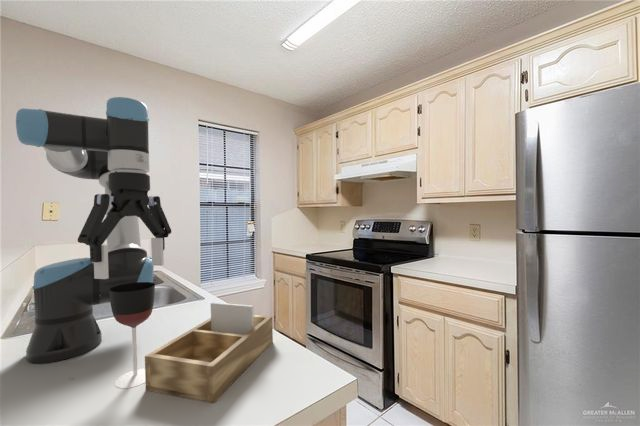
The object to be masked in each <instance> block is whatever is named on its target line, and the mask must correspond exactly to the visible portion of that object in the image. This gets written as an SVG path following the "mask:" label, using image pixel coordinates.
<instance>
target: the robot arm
mask: <svg viewBox="0 0 640 426" xmlns="http://www.w3.org/2000/svg"><path fill="white" fill-rule="evenodd" d="M105 109H106V111H105V115H106V118H101V117H93V116H84V115H78V114H71V113H63V112H59V111H57V112H56V111H51V110H45V109H41V108H39V109H34V108H19V110H17V111H16V115H15V128H16V134H17V135H16V136H17V138H18V141H19V142H20V143H21V144H23V145H25V146H31V147H33V146H34V147H37V148H43V150H44V151H45V157H46V160H47V162H48V163H49V165H50V166H51V167H52V168H54V169H55V170H56V171H58V172H60V173H62V174H65V175H67V176H71V177H75V178H77V179H78V178H79V179H82V180H98V183H99V185H100V186H101V187H102V188H104V193H97V194H95V195H94V198H93V206H92V208H91V210H90V212H89V214H88V216H87V219H86V221H85V222H84V225H83V227H82V229H81V230H80V233H79V235H78V237H77V242H78V243H80V244H85V245H86V246H88V247H89V257H82V258H81V257H80V258H73V259H68V260H63V261H58V262H55V263H51V264H48V265H47V264H46V265H44V266H42V267H39V268H37V270H36V271H35V272H34V275H33V286H32V290H33V297H34V302H33V303H34V328H33V331H32V333H31V336H30V339H29V342H28V345H27V347H26V350H25V353H26V354H25V355H26V361H27V362H29V363H33V364H42V363H43V364H45V363H46V364H47V363H53V362H58V361H64V360H66V359H71V358H73V357H77V356H80V355H83V354H85V353H87V352H89V351H92V350H93V349H94V348H97V347H98V346H99V345H100V344H101V343H102V341H103V340H102V337H103V336H102V331H101V329H100V326H99V325H98V324H99V323H98V322H97V320H96V318H95V315H94V306H96V305H102V304H108V303H110V294H109V289H110V288H112V287H114V286H118V285H122V284H127V283H136V282H151V283H153V279H154V269H155V266H164V251H165V244H166V243H165V238H169V235H170V234H172V229H171V226H170V224H169V222H168V219H167V217H166V214H165V212H164V210H163V207H162V203H161V198H160V196H158V195H156V196H154V195H151V196H149V195H148V192H149V191H151V177H150V175H149V174H148V173H149V172H150V150H149V143H150V142H149V122H150V118H149V113H148V112H149V111H148V107H147V105H146V104H145V103H143V101H140V100H138V99H134V98H130V97H123V96H115V97H111V98H108V100H106V108H105ZM139 219H140V220H141V221H142V223H143V224H144V225H145V226H146V228H147V229H148V231H150V233H151V234H152V236H153V237H151V238H150V241H151V242H150V243H151V244H150V245H151V248H150V249H151V256H149V255H148V252H147V250H145V249H144V248H143V247H141V236H140V235H141V234H140V225H139V223H140V222H139ZM105 241H106V244H104V243H105Z"/></svg>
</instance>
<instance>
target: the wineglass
mask: <svg viewBox="0 0 640 426" xmlns="http://www.w3.org/2000/svg"><path fill="white" fill-rule="evenodd" d="M155 290H156V284H155V283H154V282H152V283H151V282H136V283H127V284H122V285H118V286H114V287H112V288H110V289H109V294H110V302H109V303H110V307H111V312H112V315H113V318H114V320H115V321H116V322H118V323H119V324H121V325H123V326H127V327H129V328H131V336H132V337H131V343H132V347H131V348H132V370H130V371H127V372H126V373H124V374H122V375H120V376H119V377H118V378H117V379H116V380H115V381H114V386H115V387H116V388H118V389H128V388H134V387H137V386H141V385H143V384H146V381H145V367H143V368H138V355H137V351H138V350H137V348H138V347H137V326H139V325H140V324H143V323H144V322H145V321H147V320H148V319H149V318H150V316H151V315H152V312H153V309H154V305H155V304H154V303H155V295H156V291H155Z"/></svg>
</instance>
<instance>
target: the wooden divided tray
mask: <svg viewBox="0 0 640 426" xmlns="http://www.w3.org/2000/svg"><path fill="white" fill-rule="evenodd" d="M273 333H274V332H273V316H270V315H259V314H254V328H253V329H252V330H251V331H249V332H248V333H247V334H246V335H239V334H231V333H222V332H214V331H211V317H210V318H208V319H206V320H205V321H203V322H202V323H200V324H199V323H198V325H196V326H194V327H192V328H190V329H189V330H187V331H186V332H184V333H182V334H180V335H179V336H177V337H175V338H173V339H172V340H169V341H168V342H167V343H164V344H163V345H161V346H160V347H157V348H156V349H154V350H153V351H151V352H150V353H148V354H145V355H144V368H145V381H146V382H145V391H149V392H155V393H159V394H164V395H168V396H169V395H170V396H175V397H179V398H185V399H190V400H194V401H200V402H203V403H209V404H214V403H215V402H217V401H218V399H219V398H220V397H221V396H222V395H223V394H224V393H225V392H227V390H228V389H229V388H230V387H231V386H232V385H233V384H234V383H235V382H236V381H237V380H238V379H239V378H240V377H241V375H242V374H243V373H244V372H245V371H246V370H247V369H248V368H249V367H250V366H251V365H252V364H253V363H254V362H255V361H257V359H258V358H259V357H260V356H261V355H262V354H263V353H264V352H265V351H266V350H267V348H269V347H270V345H271V344H272V343H273V342H274V337H273V335H274V334H273Z"/></svg>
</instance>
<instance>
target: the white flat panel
mask: <svg viewBox="0 0 640 426" xmlns="http://www.w3.org/2000/svg"><path fill="white" fill-rule="evenodd" d="M254 315H255V313H254V305H249V304H240V303H239V304H238V303H236V304H235V303H228V302H227V303H224V302H213V301H212V302H210V318H211V331H214V332H222V333H231V334H239V335H246V334H247V333H248V332H249V331H251V330H252V329H253V328H254Z"/></svg>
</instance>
